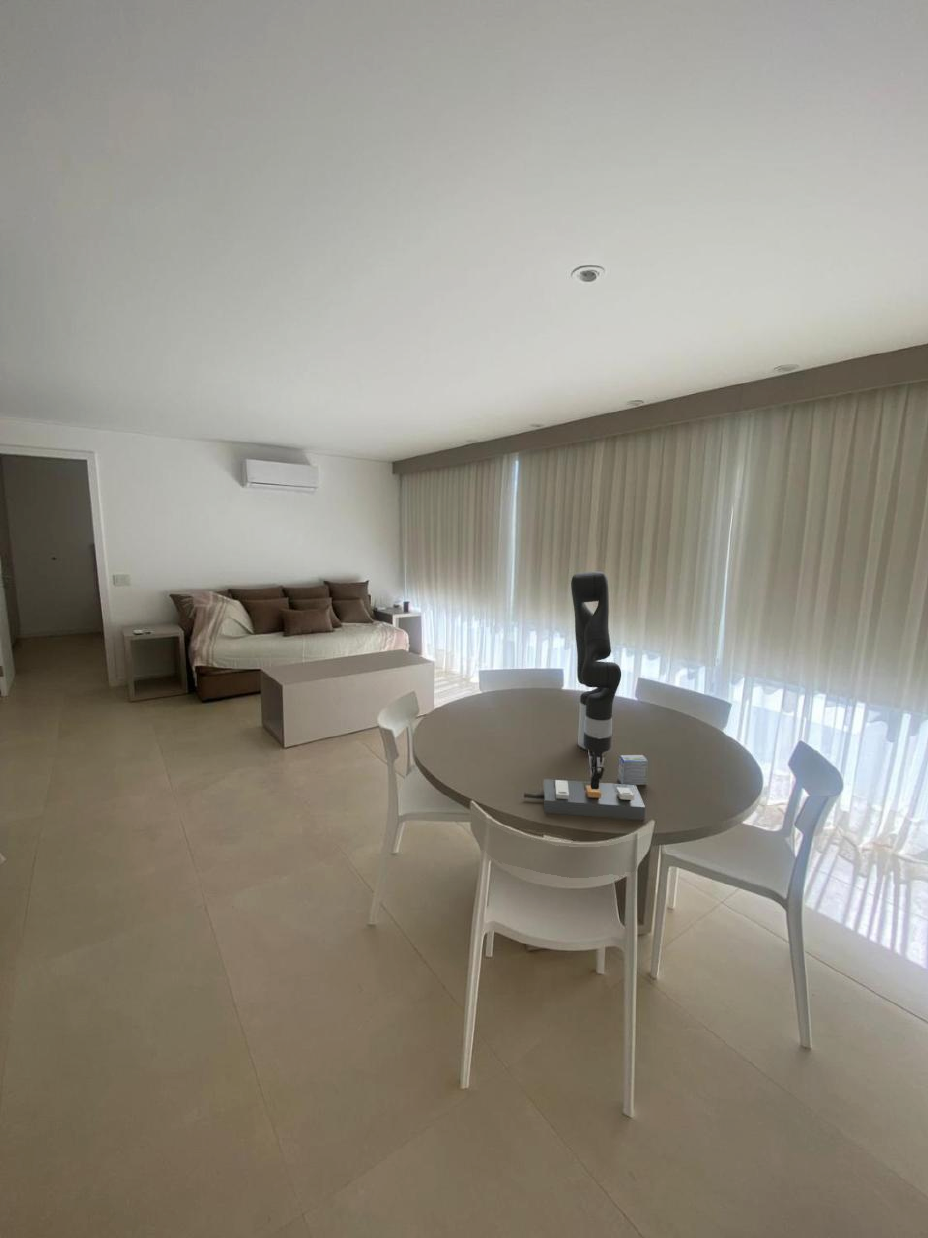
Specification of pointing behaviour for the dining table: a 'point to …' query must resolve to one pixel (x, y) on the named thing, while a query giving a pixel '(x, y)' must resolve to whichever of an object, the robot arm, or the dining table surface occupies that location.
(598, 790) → the rocker
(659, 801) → the dining table surface
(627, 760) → the medicine box
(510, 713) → the dining table surface
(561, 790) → the plate
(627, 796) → the rocker
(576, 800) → the power strip
